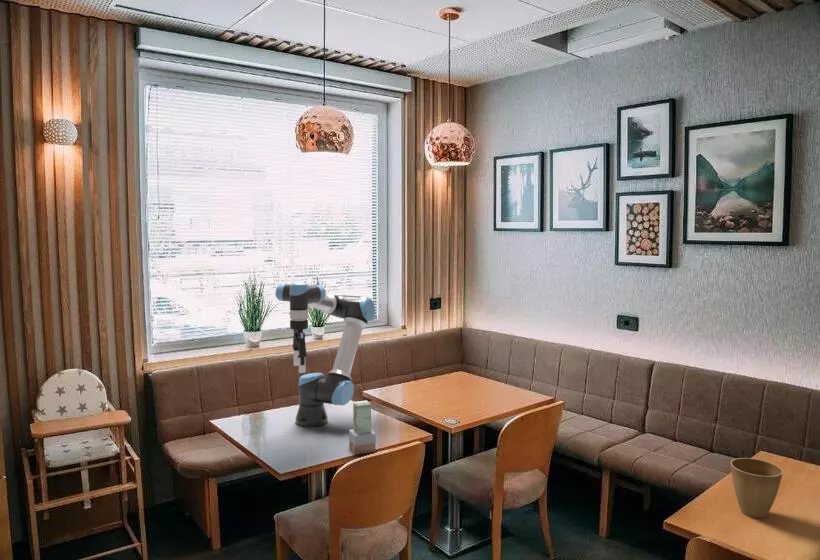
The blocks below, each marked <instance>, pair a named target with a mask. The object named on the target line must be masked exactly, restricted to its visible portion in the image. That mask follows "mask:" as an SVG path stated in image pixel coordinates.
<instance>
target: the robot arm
mask: <svg viewBox="0 0 820 560" xmlns="http://www.w3.org/2000/svg"><path fill="white" fill-rule="evenodd" d="M275 297H276V299H277V300H278V301H282V302H289V312H288V315H289V319H290V320H289V329H290V330H292V331H293V339H292V350H293V367H296V366H297V367H298V373H299V374H303V375H301V376H300V377H299V378H298V409H297V412H296V416H295V424H296V425H298V426H300V427H308V428H309V427H319V426H323V425H326V424H327V423H328V418H329V417H328V414H327V411H326V408H325V405H324V404H328V405H334V406H345V405H347V404H348V403H350V401H351V400H352V398H353V395H354V391H355V389H354V388H355V385H354V383H353V382H352V381H353V379H352V376H351V373H352V369H353V365H354V361H355V358H356V353H357V350H358V346H359V343H360V340H361V336H362V332H363V329H364V328H366V327H367V325H368V323H369V322H370V321H371V322H372V321H373V319H374V318H375V317H376V316H375V315H376V308H375V302H374V301H373V299H372V298H371V297H369V296H363V295H362V296H360V295H345V294H344V295H343V294H342V295H341V294H340V295H339V294H337V295H336V294H327V293H326V289H325V288H324V287H323V286H322V285H320V284H317V285H316V284H313V285H308V283H306V282H293V283H292V282H291V283H290V284H289V283H284V284H283V283H282V284H279V285H278V286H277V287H276V288H275ZM309 308H313V309H316V310H319V311H321V312H322V313H324V314H327V315H330V316H333V317H336V318H339V319H343V321H344V323H345V325H344V327H343V332H342V335H341V339H340V342H339V346H338V349H337V352H336V355H335V356H336V357H335V360H334V363H333V367H332V369H331V370H330V371H328V372H327V376H326V377H325V374H324V373H322V372H313V373H312V372H311V373H306V372H307V371H306V369H307V367H306V366H307V365H306V358H307V347H306V334H305V332H304V330H307V329H308V328H309V320H308V319H309ZM304 373H306V374H304Z"/></svg>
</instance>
